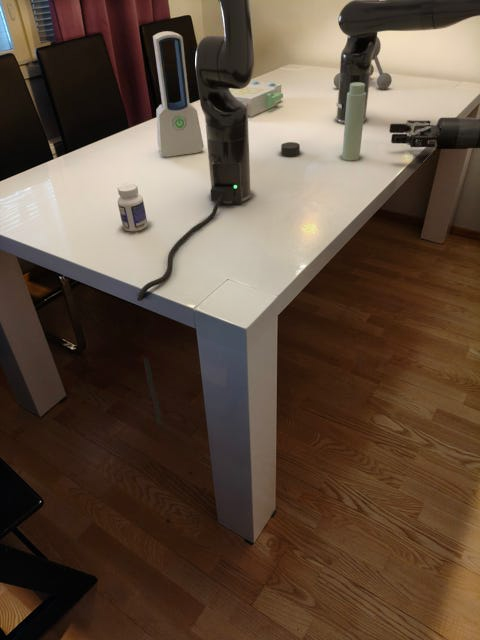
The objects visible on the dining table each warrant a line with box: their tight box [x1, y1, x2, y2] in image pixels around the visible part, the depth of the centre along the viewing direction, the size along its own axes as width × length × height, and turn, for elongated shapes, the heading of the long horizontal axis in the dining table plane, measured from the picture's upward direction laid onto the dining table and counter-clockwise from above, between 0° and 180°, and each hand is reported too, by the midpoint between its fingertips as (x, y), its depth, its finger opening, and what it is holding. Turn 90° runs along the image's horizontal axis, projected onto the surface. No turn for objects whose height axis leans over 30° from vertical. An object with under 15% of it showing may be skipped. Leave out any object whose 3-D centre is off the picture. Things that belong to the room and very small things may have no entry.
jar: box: [341, 82, 366, 162], centre depth 126 cm, size 5×5×18 cm
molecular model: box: [333, 0, 393, 90], centre depth 184 cm, size 24×22×30 cm
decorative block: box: [229, 80, 284, 118], centre depth 173 cm, size 26×6×20 cm
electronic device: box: [152, 30, 205, 158], centre depth 133 cm, size 12×8×30 cm, turn 105°
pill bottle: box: [117, 182, 148, 232], centre depth 102 cm, size 5×5×9 cm
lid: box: [280, 141, 301, 158], centre depth 136 cm, size 5×5×2 cm
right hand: (390, 133), depth 126 cm, fingers open, 8 cm apart
